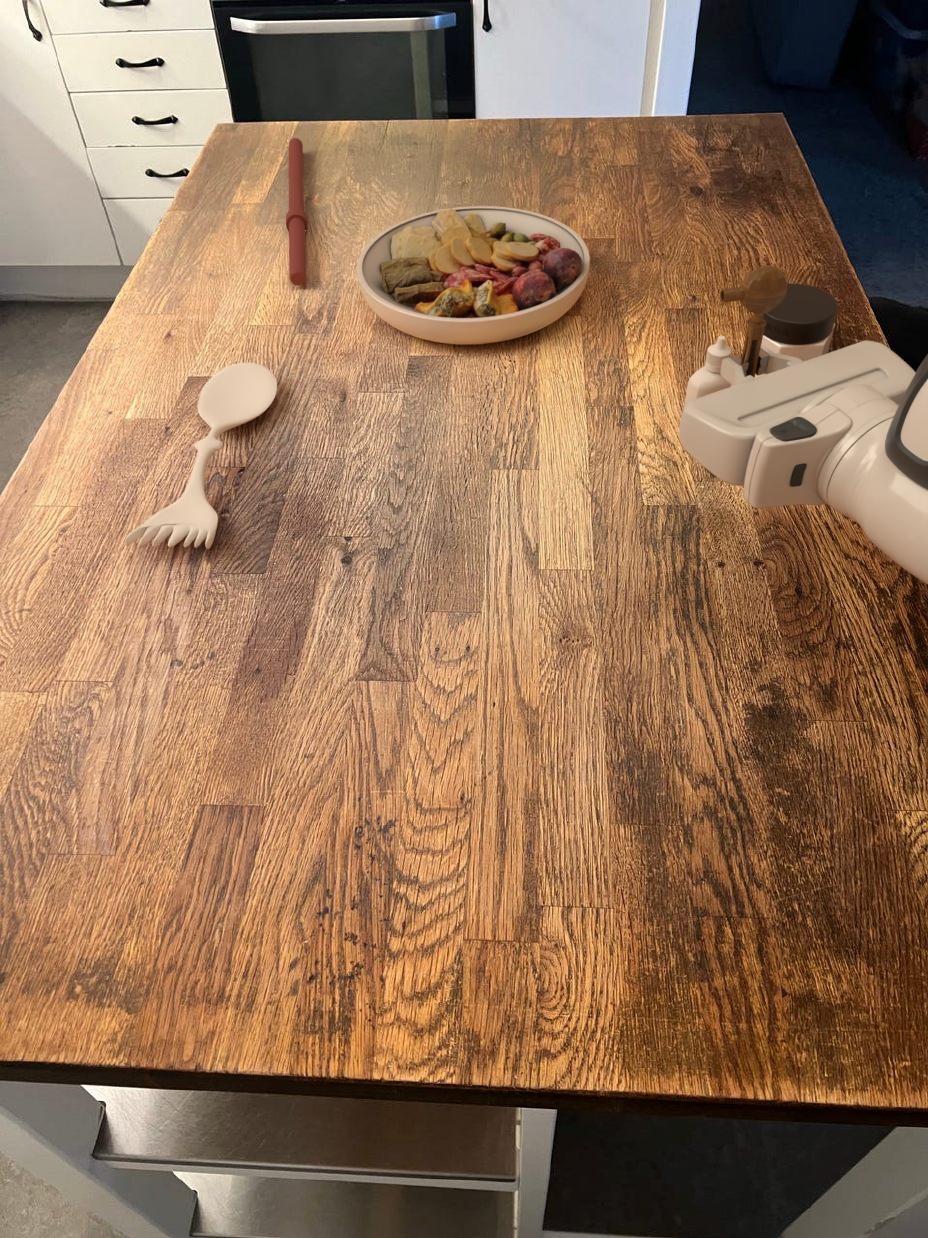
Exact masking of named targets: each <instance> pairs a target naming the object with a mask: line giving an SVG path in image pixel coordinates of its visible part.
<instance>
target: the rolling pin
mask: <svg viewBox="0 0 928 1238" xmlns="http://www.w3.org/2000/svg"><path fill="white" fill-rule="evenodd" d="M303 147H304V146H303V142H302V140H301V139H299V138H298V137H293V138H291V139H290V140H289V143H288V211H287V212H286V215H285V227H286V230H287V231H288V271H289V272H288V275H289V277H288V279H289V282H290V283H291V284H292V285H294V286H296V285H300V286H302V285H301V284H303V285H304V284H305V283H307V282H306V281H307V255H306V252H307V251H306V232H305V230H307V231H308V228H309V218H308V214H307V212H306V210H305V181H304V180H305V179H304V148H303Z"/></svg>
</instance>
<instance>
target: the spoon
mask: <svg viewBox="0 0 928 1238" xmlns="http://www.w3.org/2000/svg"><path fill="white" fill-rule="evenodd" d="M277 391H278V382H277V378H276V376H275V373H273V371H272V370H270V368H269V367H266V366H265V365H262V364H259V363H255V362H237V363H233V364H230V365H227V366H225V367H223V368H221V369H220V370H218V371H217V372H216V373H214V374H213V375H212V376H211V377H210V378H209V379H208V380H207V381H206V383H205V384H204V385H203V386H202V389H201V391H200V393H199V396H198V401H197V412H198V415H199V416H200V417H201V419H202V420H203V421H204V422H205V423H206V424H207V425H208V426H209V427H210V431H209V432H208V434H207V436H206V437H204V438H203V439H202V438H201V439H199V440H198V441H196V442H195V444H194V449H195V450H196V451H198V453H197V456H196V459H195V461H194V465H193V468H192V471H191V474H190V476H189V480H188V483H187V486H186V488H185V490H184V492H183V494H182V495H181V496H180V497H179V498H178V499H177V500H175V501H174V502H173V503H171V504H169V505H168V506H165V507H164V508H162V509H160V510H158V511H157V512H155V513H154V514H152V515H151V516H150V517H149V518H148V519H146V520H145V521H144V522H143V523H142V524H141V525H139V526H138V527H136V528H135V529H133V530H131V531H130V532H129V533H128V534H126V536H125V540H124V544H125V546H126V547H130V546H131V545H132V544H134V543H135V542H136V541H137V540H139V539H140V538H141V539H140V540H139V545H140V546H141V547H142V546H144V545H146V544H147V543H149V542H150V541H151V540H153V541H152V544H151V545H152V547H153V548H154V547H157V546H158V545H160V544H161V543H162V542H163V541H165V540H166V539H167V538H169V539H168V541H167V542H168V543H167V546H168V547H169V548H172V547H174V546H176V545H177V544H179V543H180V542H181V541H183V539H185V540H184V541H183V548H184V549H185V548H187V547H189V546H190V545H191V544H192V543H193V542H194V543H193V544H194V548H195V549H196V548H198V547H199V546H200V545H201V544H203V542H204V540H205V543H204V545H205V546H204V547H205V548H206V550H209V549H210V548H211V547H212V545H213V543H214V540H215V538H216V533H217V527H218V523H219V522H218V521H219V516H218V513H217V512H216V510H215V509H214V508H213V506H212V505H211V504H210V502H209V500H208V499H207V496H206V491H205V476H206V469H207V466H208V463H209V462H210V459H211V457H212V456H213V455H214V454H215V453H216V452H218V451H221V450H222V449H223V446H224V443H223V442H222V440H219V439H218V438H219V437H220V436H221V435H222V434H223V433H225V432H226V431H229V430H232V429H234V428H236V427H239V426H241V425H245V424H246V423H248V422H250V421H252V420H254V419H256V418H258V417H260V416H261V415H262V414H264V413H265V411H267V409H268V408H269V407H270V406H271V404H272V403H273V401H274V399H275V397H276V395H277Z"/></svg>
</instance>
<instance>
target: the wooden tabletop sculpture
mask: <svg viewBox="0 0 928 1238" xmlns="http://www.w3.org/2000/svg"><path fill="white" fill-rule="evenodd" d="M788 284H789V280H788V277H787V276H786V273H785V272H784V271H783V270H782V269H780V268H778V267H777V266H775V265H769V264H768V265H761V266H759V267H757V268H754V269H753V270H751V271H749V273H748V275H746V277H745V278H744V279H743V281H741V283H740V286H738V287H729V288H721V290H720V293H719V300H720V302H721V304H723V303H730V302H739V301H740V304H741V305H742V307H743V308H744V309H745V310H746V311H747V312H749V313H752V314H753V315H752V317H750V318H748V319H747V320H746V325H747V327H746V333H745V337H744V343H743V347H742V353H741V358H743V359H745V360H746V361H748V362H749V364H748V369H747V371H746V373H747V374H746V376H749V375H752V376H753V377H754V378H755V373H756V368H757V362H758V357H759V353H760V348H761V343H762V338H763V333H764V328H765V326H766V320H764V319H763V314H764V313H766V312H770V311H772V310H773V309H774V308H776V307H777V306H778V305H779V304H781V303H782V301H783V299H784V298H785V296H786V294H787V285H788ZM703 469H704V470H705V471H707V472H708V473H709V475H711V476H712V477H713V478H716V479H719V478H718V477H716V476H715V475H713V474H712V473H711V472H710V471H708V470H707V469H706V468H705V467H703Z"/></svg>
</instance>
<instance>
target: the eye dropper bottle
mask: <svg viewBox="0 0 928 1238" xmlns="http://www.w3.org/2000/svg"><path fill="white" fill-rule="evenodd" d="M726 341H727V340H726V336H724V335H719V336H718V337H717V340H716V342H715V343H712V344H711V345H709V346H708V347H707V350H706V355H705V362H704V366H701V367H700V368H699V369H697V370H696V371H695V372H694V373H692V375H691V376H690V377H689V378H688V382H687V386H686V392H685V397H684V404H683V406H684V405H685V404H686V403H687V402H688V401H691V400H694V399H697V398H700V397H703V396H705V395H708V394H711V393H714V392H717V391H720V390H723V389H726V388H729V387H731V384H730V383H729V382H728V381H727V380H725V379H724V378H723V377H722V376H721V373H720V369H721V364H722V360H723V359H725V358H728V357H732V354H733V353H732V351H733V350H732V348H731V347H730V346H729V345H727V343H726Z"/></svg>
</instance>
